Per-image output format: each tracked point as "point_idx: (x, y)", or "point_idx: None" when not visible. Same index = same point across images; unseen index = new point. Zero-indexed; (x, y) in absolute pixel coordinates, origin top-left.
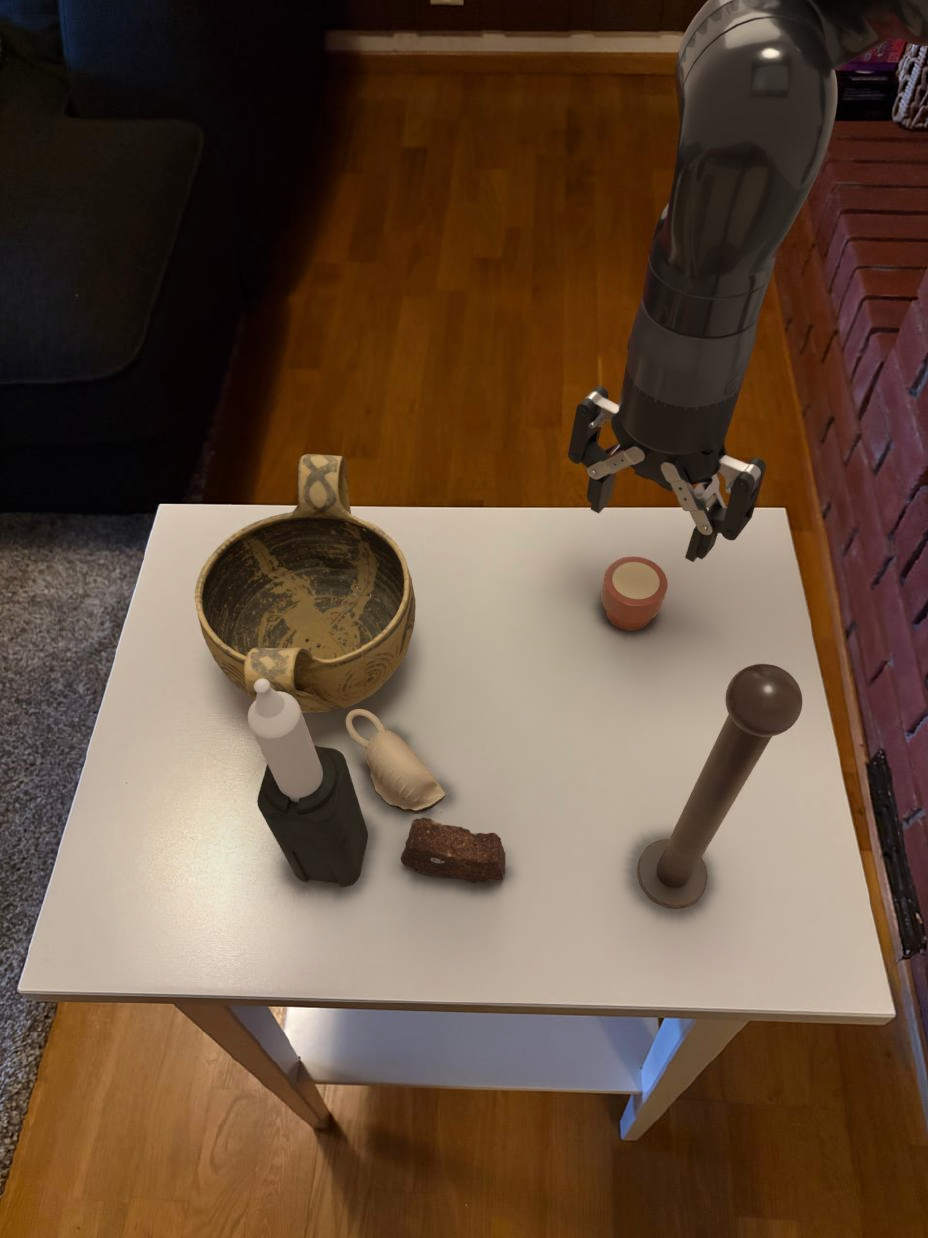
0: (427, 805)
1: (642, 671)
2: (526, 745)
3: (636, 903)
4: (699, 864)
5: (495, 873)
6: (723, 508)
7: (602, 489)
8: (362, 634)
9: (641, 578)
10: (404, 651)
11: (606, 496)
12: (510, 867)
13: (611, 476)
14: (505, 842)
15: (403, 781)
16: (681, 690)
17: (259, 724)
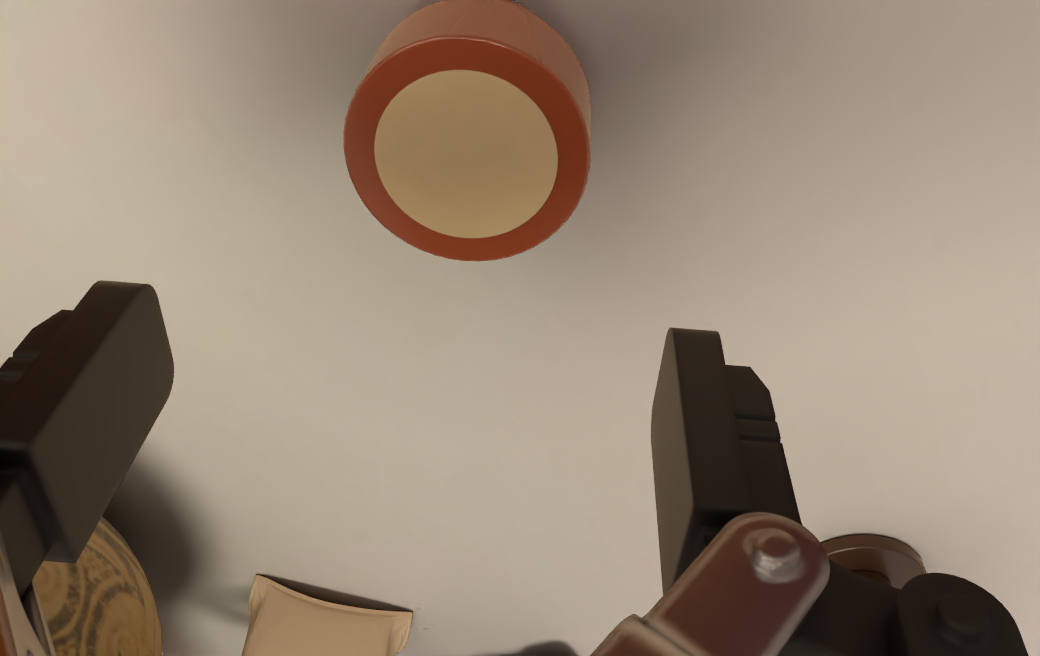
0: (401, 649)
1: (625, 246)
2: (478, 500)
3: None
4: (906, 565)
5: None
6: (809, 650)
7: (99, 506)
8: None
9: (479, 141)
10: (131, 646)
11: (132, 382)
12: (582, 647)
13: (61, 468)
14: (552, 627)
15: None
16: (751, 247)
17: None
